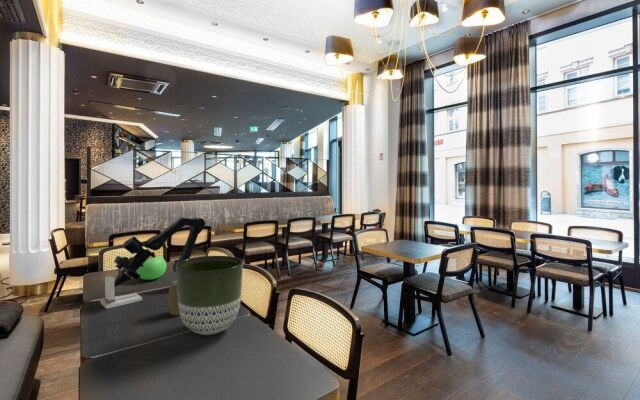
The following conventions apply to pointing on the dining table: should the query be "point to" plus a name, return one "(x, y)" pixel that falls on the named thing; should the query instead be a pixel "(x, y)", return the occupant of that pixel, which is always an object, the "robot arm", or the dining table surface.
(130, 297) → the fader deck
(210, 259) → the planter
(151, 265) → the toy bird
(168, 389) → the dining table surface
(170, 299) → the squeeze bottle
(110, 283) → the handle
